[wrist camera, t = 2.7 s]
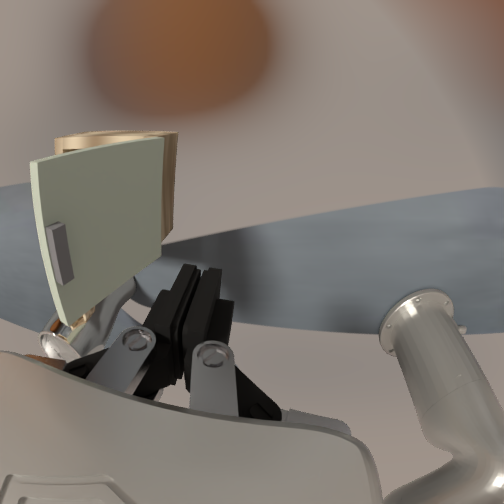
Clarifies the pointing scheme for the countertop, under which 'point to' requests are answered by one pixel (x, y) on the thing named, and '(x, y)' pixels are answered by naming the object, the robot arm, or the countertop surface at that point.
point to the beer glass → (85, 327)
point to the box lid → (97, 219)
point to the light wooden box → (109, 137)
